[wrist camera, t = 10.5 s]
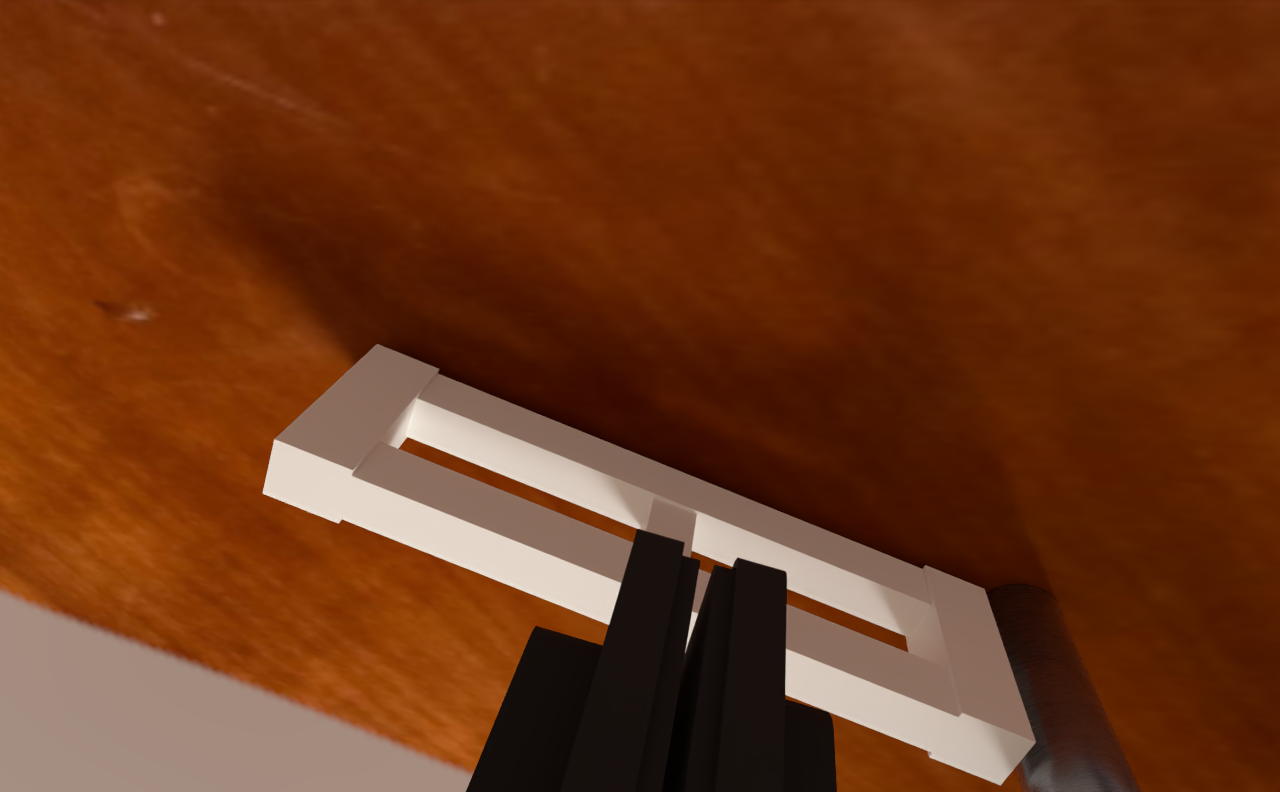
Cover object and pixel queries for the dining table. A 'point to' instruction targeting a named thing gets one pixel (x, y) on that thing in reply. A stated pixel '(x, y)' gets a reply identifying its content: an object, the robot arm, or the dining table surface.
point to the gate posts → (1057, 699)
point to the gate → (665, 505)
